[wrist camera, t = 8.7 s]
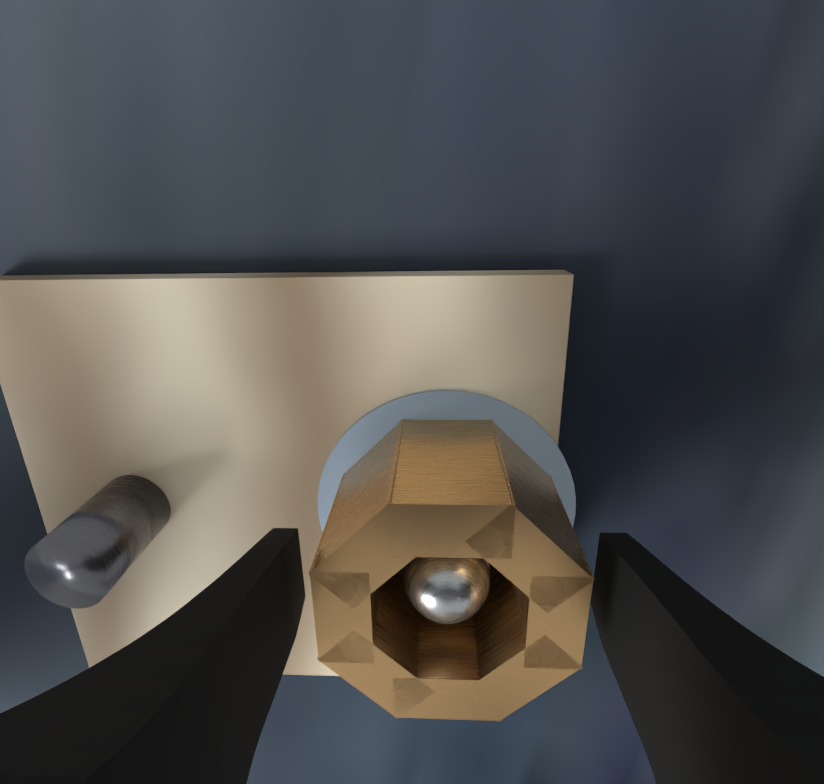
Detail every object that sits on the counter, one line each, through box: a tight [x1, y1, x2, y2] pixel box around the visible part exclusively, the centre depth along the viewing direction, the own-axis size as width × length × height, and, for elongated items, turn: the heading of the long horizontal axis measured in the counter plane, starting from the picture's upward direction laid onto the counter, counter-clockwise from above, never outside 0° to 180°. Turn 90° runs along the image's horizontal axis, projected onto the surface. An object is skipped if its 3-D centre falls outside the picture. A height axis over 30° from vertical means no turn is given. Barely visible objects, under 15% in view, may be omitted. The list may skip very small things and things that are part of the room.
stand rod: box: [24, 475, 171, 609], centre depth 13 cm, size 2×2×3 cm
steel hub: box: [404, 557, 490, 624], centre depth 13 cm, size 2×2×4 cm
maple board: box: [0, 270, 574, 676], centre depth 15 cm, size 15×13×1 cm
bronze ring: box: [308, 419, 594, 722], centre depth 12 cm, size 6×6×4 cm
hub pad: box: [318, 390, 576, 532], centre depth 14 cm, size 7×7×1 cm
